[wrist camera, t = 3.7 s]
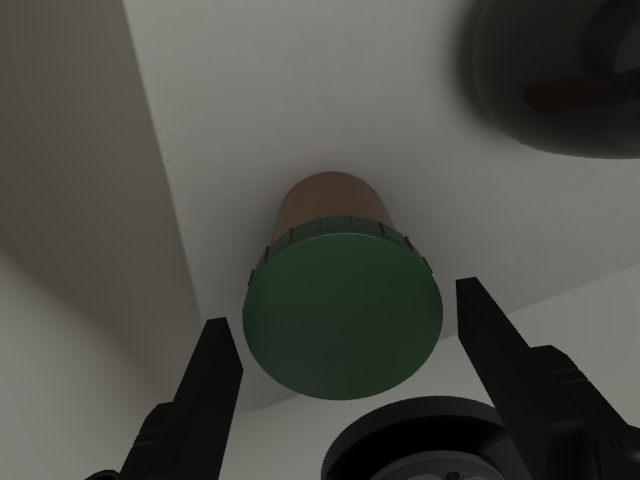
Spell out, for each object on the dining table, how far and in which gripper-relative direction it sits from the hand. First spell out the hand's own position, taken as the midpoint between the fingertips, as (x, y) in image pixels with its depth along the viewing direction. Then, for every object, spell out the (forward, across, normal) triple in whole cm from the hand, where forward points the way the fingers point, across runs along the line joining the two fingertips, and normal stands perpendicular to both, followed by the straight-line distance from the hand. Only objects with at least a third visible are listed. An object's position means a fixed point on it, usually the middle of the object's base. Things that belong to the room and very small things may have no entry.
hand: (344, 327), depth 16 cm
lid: (+1, 0, 0) cm, 1 cm away
